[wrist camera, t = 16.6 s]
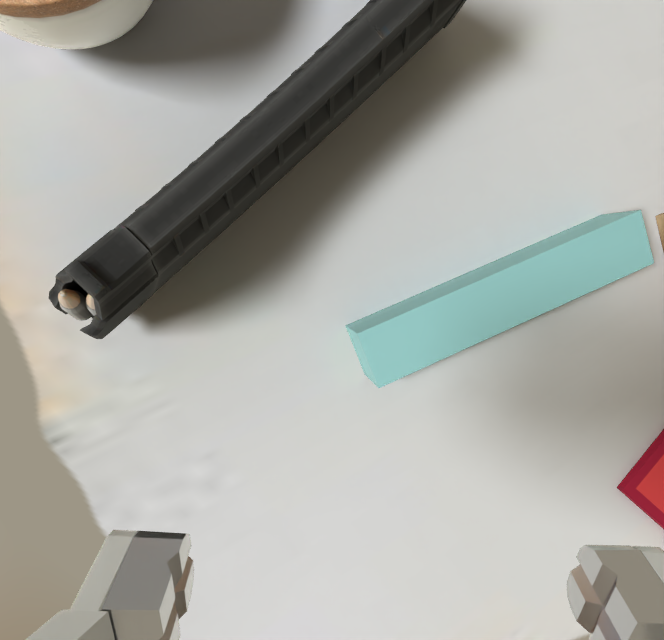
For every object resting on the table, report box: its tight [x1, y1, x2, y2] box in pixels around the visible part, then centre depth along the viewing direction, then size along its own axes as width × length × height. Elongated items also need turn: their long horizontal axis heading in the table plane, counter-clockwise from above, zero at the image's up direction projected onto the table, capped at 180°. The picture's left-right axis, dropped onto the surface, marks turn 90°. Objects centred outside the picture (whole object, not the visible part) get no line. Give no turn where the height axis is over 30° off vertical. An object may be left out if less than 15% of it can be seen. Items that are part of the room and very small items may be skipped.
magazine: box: [49, 0, 466, 339], centre depth 26 cm, size 17×3×30 cm
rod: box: [346, 210, 654, 388], centre depth 34 cm, size 4×22×4 cm, turn 112°
